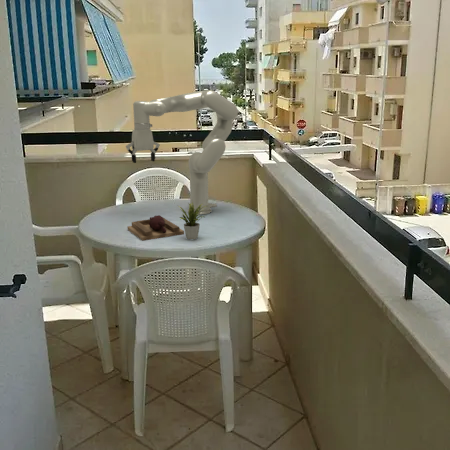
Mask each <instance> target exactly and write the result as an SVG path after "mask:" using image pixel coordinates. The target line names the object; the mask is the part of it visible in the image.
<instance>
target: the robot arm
mask: <svg viewBox="0 0 450 450" xmlns="http://www.w3.org/2000/svg"><path fill="white" fill-rule="evenodd" d="M132 105H133V125H134V127H133V128H134V129H132V133H131V142H130V143H129V144H127V145H125V148H126V150H127V152H128V153H129V154H130V155H131V162H132V163H134V164H136V163H137V155H136V153H137V152H138V151H150V161H151V162H155V161H156V153H157V151H158V150H159V148H160V143H158V142H156V141H154V136H153V131H152V129H151V128H153V124H151V123H150V117H151V116H152V117H162V116H163V115H164V114H168V113H184V112H191V111H195V110H196V111H197V110H200V109H201V110H202V109H205V108H208V109H209V110H211V111H212V112H214V113H215V114H216V119H217V121H216V124H215V126H213V129H212V130H211V131H210V132H209V133H208V135H207V136H206V137H205V139H204V140H203V142H202V145H201V146H202V149H203V150H202V151H201V152H200V151H199V152H198V151H195V152H193V153H192V154H191V155H190V157H189V158H188V170H189V196H190V198H189V199H190V201H189V204H191V206H192V203H193V205H194V209H195V210H196V208H198V206H199V205H201V204H202V205H201V206H202V207H203V208H202V207H200V208H202V209H201V210H200V209H199V210H200V211H201V212H200V211H199V210H198V211H199V213H198V214H199V215H198V214H197V215H198V216H203V215H207V214H208V215H209V214H210V212H211V213H212V208H217V207H218V206H217V203H210V202H209V174H208V173H209V172H210V171H212V169H213V168H215V166H216V164H217V163H218V162H219V161H220V160H221V158H222V157H223V155H224V154H225V152H226V149H227V148H226V143H225V141H226V140H227V139H228V137H229V135H231V133H232V129H233V125H234V124H233V121H234V120H235V119H236V118H237V116H238V113H239V111H238V107H237V106H236V105H235V104H234V103H233V102H232V101H230V100H229V99H227V98H225V96H223V95H221V94H220V93H218V92H217V91H215V90H212V89H211V90H210V89H206V90H205V89H204V90H199V91H192V92H189V93H188V92H187V93H182V94H178V95H174V96H169V97H162V98H158V99H152V100H150V101H147V100H135V101H134V102H133V103H132ZM154 145H155V146H154ZM204 206H206V207H204ZM195 210H194V212H195ZM202 210H203V211H202ZM188 212H189V208H188V209H187V213H188ZM202 214H203V215H202Z"/></svg>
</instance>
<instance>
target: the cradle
mask: <svg viewBox="0 0 450 450" xmlns="http://www.w3.org/2000/svg"><path fill="white" fill-rule="evenodd" d="M163 219H164V221H165V226H164V228H165V229H166V232H165V233H164V232H163V231H162V230H161V229H160V230H154V229H152V228H151V227H150V225H149V222H150V218H149V219H143V220H142V219H141V220H137V221H132V222H131V225H129V226H127V231H129V232H130V233H132V234H133V235H134V236H135V237H137V238H138V239H139V240H140V241H142V242H143V241H149V240H156V239H161V238H163V239H164V238H170V237H175V236H182V235H184V234H185V230H183V229H182V228H180V226H178V225H177V224H175V223H173V222H171V221H170V220H168V219H167V218H165V217H163Z"/></svg>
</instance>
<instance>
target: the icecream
mask: <svg viewBox="0 0 450 450" xmlns="http://www.w3.org/2000/svg"><path fill="white" fill-rule="evenodd" d="M163 218H164V217H163V216H161V215H154V216H150V217H149V219H150V222H149V225H150V227H151V228H152V229H154V230H160V229H161V230H162V231H163V232H164V233H165V232H166V229H165V228H164V226H165V221H164V219H163Z"/></svg>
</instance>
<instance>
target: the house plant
mask: <svg viewBox="0 0 450 450" xmlns="http://www.w3.org/2000/svg"><path fill="white" fill-rule="evenodd" d="M188 205H189V206H188V209H189V212H188V211H187V212H186V211H185V210H184V208H182V207H181V206H180V205H178V207H179V208H180V210H181V212H182V216H180V217H179V218H180V220H183V221H184V222H185V223H184V224H183V228H184V234H185V238H187V239H186V240H189V239H194V240H197V239H198V238H199V232H200V225H201V224H200V223H199V222H200V220H201V219H202V218H205V215H199V214H198V213H199V211H200V210H201V209H202V208H203V207H202V206H201V205H202V204H201V205H199V206H198V208H196V210H195V209H194V205H193V203H192V206H191V204H190V203H188ZM200 207H202V208H200ZM204 207H206V206H204ZM199 209H200V210H199ZM194 210H195V212H194ZM198 210H199V211H198ZM202 211H203V210H202ZM200 212H201V211H200ZM187 213H188V214H187ZM197 214H198V215H197ZM196 238H197V239H196Z"/></svg>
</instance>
